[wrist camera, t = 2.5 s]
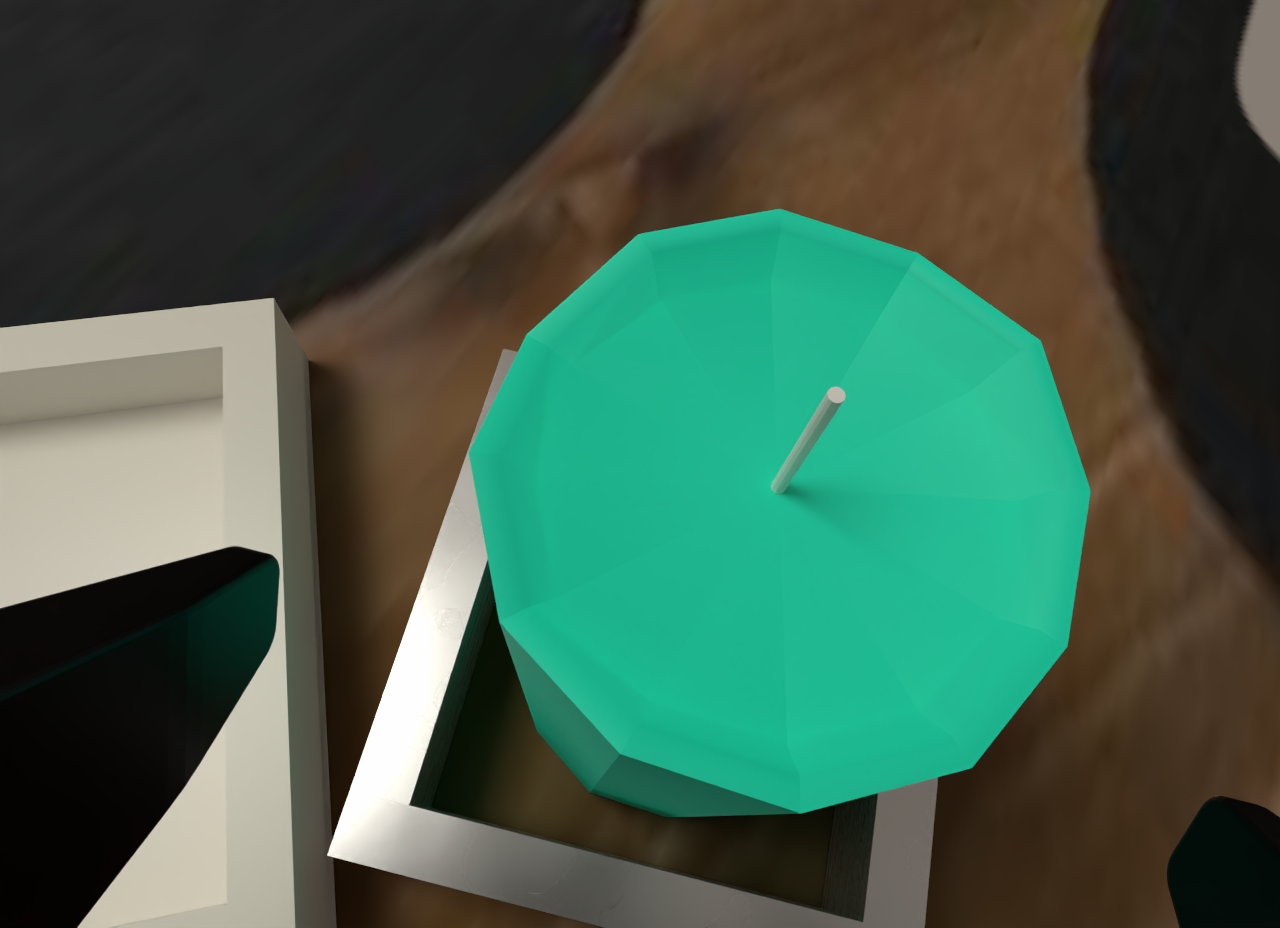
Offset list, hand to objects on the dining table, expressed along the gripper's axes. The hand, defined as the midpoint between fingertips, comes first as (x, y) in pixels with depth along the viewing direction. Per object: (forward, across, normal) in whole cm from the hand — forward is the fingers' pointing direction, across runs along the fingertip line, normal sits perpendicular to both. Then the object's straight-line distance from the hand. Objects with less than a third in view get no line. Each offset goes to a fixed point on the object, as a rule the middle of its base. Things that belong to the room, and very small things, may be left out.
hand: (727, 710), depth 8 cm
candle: (+8, 0, +5) cm, 10 cm away
